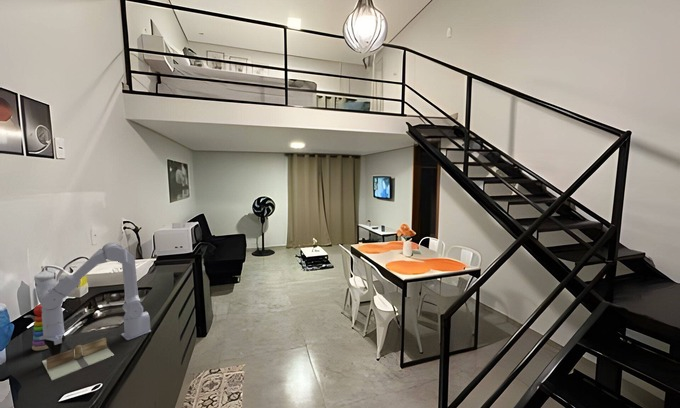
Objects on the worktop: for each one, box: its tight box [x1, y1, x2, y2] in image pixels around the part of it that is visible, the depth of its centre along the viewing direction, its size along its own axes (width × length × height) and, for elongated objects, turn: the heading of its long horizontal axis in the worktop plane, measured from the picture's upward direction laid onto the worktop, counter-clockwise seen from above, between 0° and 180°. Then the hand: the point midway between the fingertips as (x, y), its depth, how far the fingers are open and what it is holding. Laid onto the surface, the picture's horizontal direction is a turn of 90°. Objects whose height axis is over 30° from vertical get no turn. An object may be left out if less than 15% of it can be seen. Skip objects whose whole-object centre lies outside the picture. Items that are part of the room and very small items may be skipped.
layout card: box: [41, 345, 115, 381], centre depth 112 cm, size 18×18×1 cm
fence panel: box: [45, 348, 75, 369], centre depth 108 cm, size 8×1×4 cm, turn 144°
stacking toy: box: [31, 303, 49, 352], centre depth 120 cm, size 8×8×19 cm
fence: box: [74, 337, 108, 359], centre depth 115 cm, size 10×2×5 cm, turn 144°
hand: (55, 355), depth 111 cm, fingers closed
